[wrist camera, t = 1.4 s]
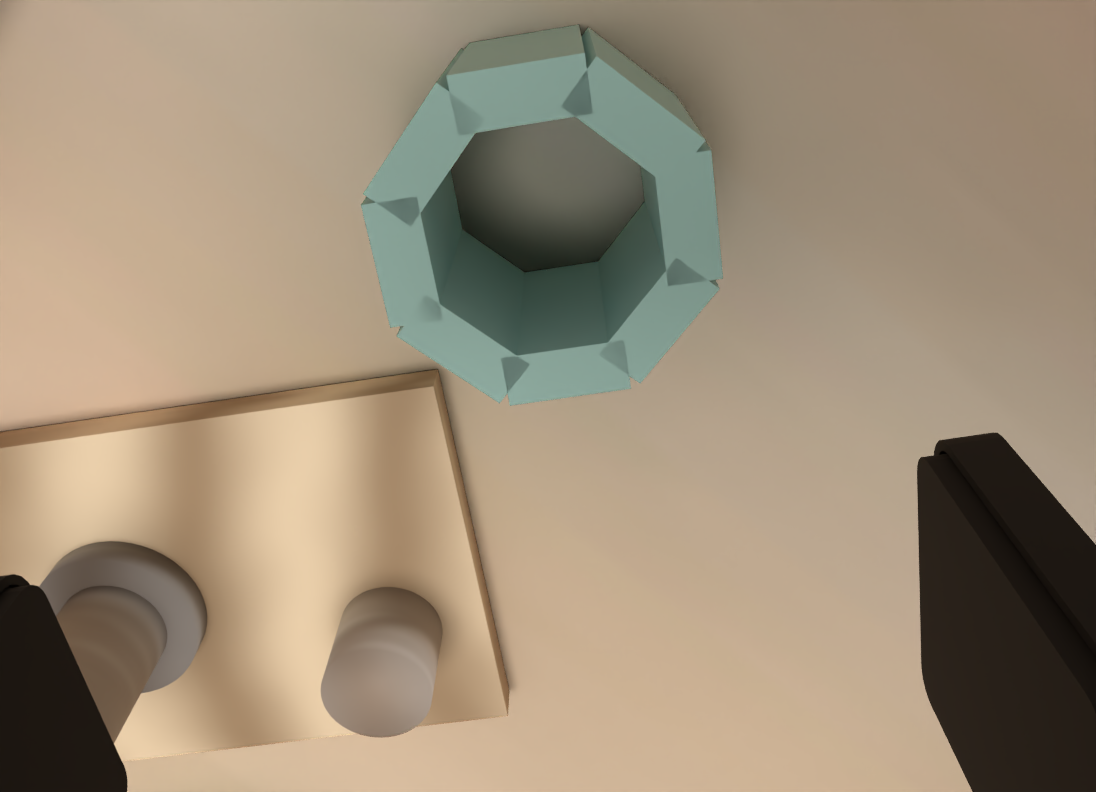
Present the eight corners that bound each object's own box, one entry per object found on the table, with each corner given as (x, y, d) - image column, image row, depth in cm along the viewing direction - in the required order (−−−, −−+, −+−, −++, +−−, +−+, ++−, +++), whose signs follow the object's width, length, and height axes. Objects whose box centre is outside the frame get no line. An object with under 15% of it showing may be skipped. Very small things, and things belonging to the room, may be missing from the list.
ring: (670, 9, 26) (700, 33, 20) (698, 288, 29) (731, 374, 23) (380, 57, 26) (334, 94, 21) (439, 326, 29) (412, 419, 24)
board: (437, 369, 30) (369, 628, 19) (509, 691, 35) (487, 1042, 24) (-83, 444, 31) (-429, 728, 20) (58, 744, 36) (-158, 1103, 25)
